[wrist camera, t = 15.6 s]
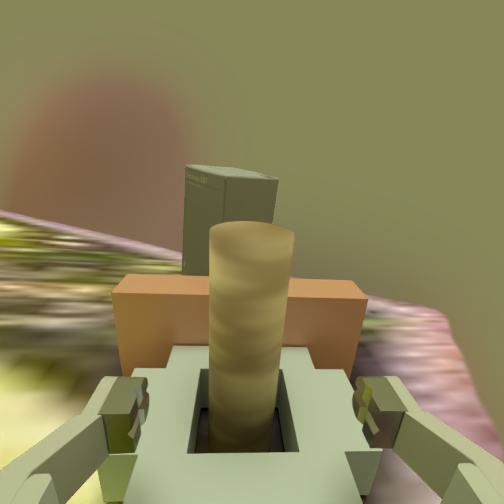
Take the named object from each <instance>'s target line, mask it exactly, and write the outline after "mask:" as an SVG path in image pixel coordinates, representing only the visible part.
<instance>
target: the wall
mask: <svg viewBox="0 0 504 504" xmlns="http://www.w3.org/2000/svg"><path fill="white" fill-rule="evenodd" d="M111 294H112V302H113V309H114V317H115V324H116V332H117V339H118V347H119V354H120V362H121V370H122V376H124V377H131V375H132V373H133V371H134V369H135V368H166V367H167V364H168V360H169V357H170V354H171V351H172V348H173V346H209V276H183V275H149V274H127V275H126V276H125V277H124V279H123V280H122V281H121V282H120V283H119V284H118V285H117V287H116V288H115V289H114V290H113V291H112V292H111ZM367 302H368V298H367V297H366V296H365V295H364V294H363V292H362V291H361V290H360V289H359V288H358V287H357V286H356V284H355V283H354V282H353V281H350V280H319V279H290V280H289V289H288V297H287V306H286V315H285V323H284V332H283V340H282V347H307V349H308V351H309V354H310V357H311V360H312V363H313V365H314V368H315V369H343V370H344V372H345V374H346V376H347V378H348V380H350V376H351V371H352V367H353V363H354V359H355V354H356V350H357V346H358V341H359V337H360V333H361V328H362V324H363V320H364V315H365V311H366V307H367Z"/></svg>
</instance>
